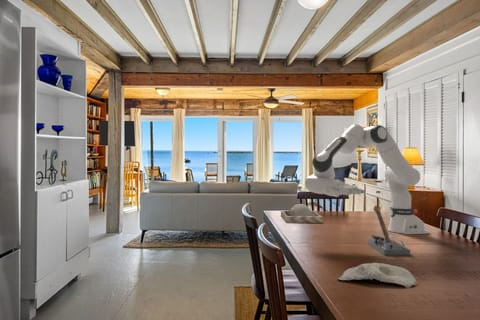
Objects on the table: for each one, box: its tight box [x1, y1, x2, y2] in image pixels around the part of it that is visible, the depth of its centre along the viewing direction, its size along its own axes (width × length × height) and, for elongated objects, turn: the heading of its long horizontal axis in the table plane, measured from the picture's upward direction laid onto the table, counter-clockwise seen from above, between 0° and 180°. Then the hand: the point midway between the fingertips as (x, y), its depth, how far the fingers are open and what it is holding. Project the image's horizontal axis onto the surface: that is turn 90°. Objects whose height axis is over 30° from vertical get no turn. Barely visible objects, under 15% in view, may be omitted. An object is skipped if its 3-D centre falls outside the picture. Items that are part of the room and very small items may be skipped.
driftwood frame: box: [280, 210, 323, 224], centre depth 253 cm, size 24×24×4 cm
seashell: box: [289, 203, 313, 216], centre depth 254 cm, size 15×14×15 cm
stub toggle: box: [400, 239, 407, 249], centre depth 168 cm, size 1×2×4 cm, turn 148°
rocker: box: [371, 234, 385, 241], centre depth 182 cm, size 5×3×1 cm, turn 91°
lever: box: [373, 205, 392, 246], centre depth 173 cm, size 3×4×20 cm
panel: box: [367, 238, 411, 256], centre depth 176 cm, size 12×20×5 cm, turn 1°
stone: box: [337, 262, 418, 289], centre depth 135 cm, size 28×7×15 cm
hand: (362, 192), depth 179 cm, fingers open, 8 cm apart
